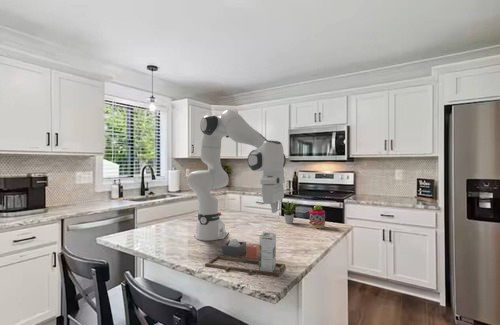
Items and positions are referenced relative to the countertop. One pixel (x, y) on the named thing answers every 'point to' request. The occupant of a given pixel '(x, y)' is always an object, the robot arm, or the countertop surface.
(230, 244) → the popper dome
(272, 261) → the syrup box
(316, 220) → the potted succulent
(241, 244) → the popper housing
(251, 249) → the die
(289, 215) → the house plant
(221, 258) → the frame
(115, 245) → the countertop surface
